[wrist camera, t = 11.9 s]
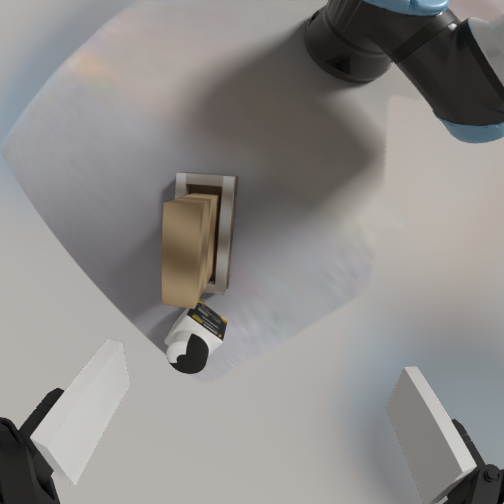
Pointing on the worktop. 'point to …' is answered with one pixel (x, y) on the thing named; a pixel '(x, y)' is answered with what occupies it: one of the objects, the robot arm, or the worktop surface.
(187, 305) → the door slab
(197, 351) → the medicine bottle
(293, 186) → the worktop surface
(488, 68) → the robot arm
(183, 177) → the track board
